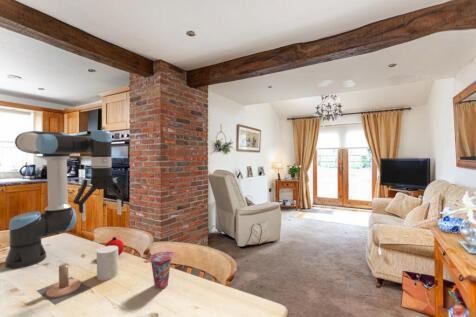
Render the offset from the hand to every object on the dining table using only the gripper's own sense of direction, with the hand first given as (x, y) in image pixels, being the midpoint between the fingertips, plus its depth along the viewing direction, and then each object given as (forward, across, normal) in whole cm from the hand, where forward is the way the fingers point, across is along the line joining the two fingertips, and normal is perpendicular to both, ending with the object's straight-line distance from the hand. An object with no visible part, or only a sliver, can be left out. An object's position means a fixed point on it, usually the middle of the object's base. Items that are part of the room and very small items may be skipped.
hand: (102, 217), depth 102 cm
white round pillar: (+26, +2, 0) cm, 27 cm away
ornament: (+26, +11, +20) cm, 35 cm away
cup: (+26, +15, -22) cm, 38 cm away
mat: (+26, -14, +1) cm, 30 cm away
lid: (+26, -14, +1) cm, 29 cm away
